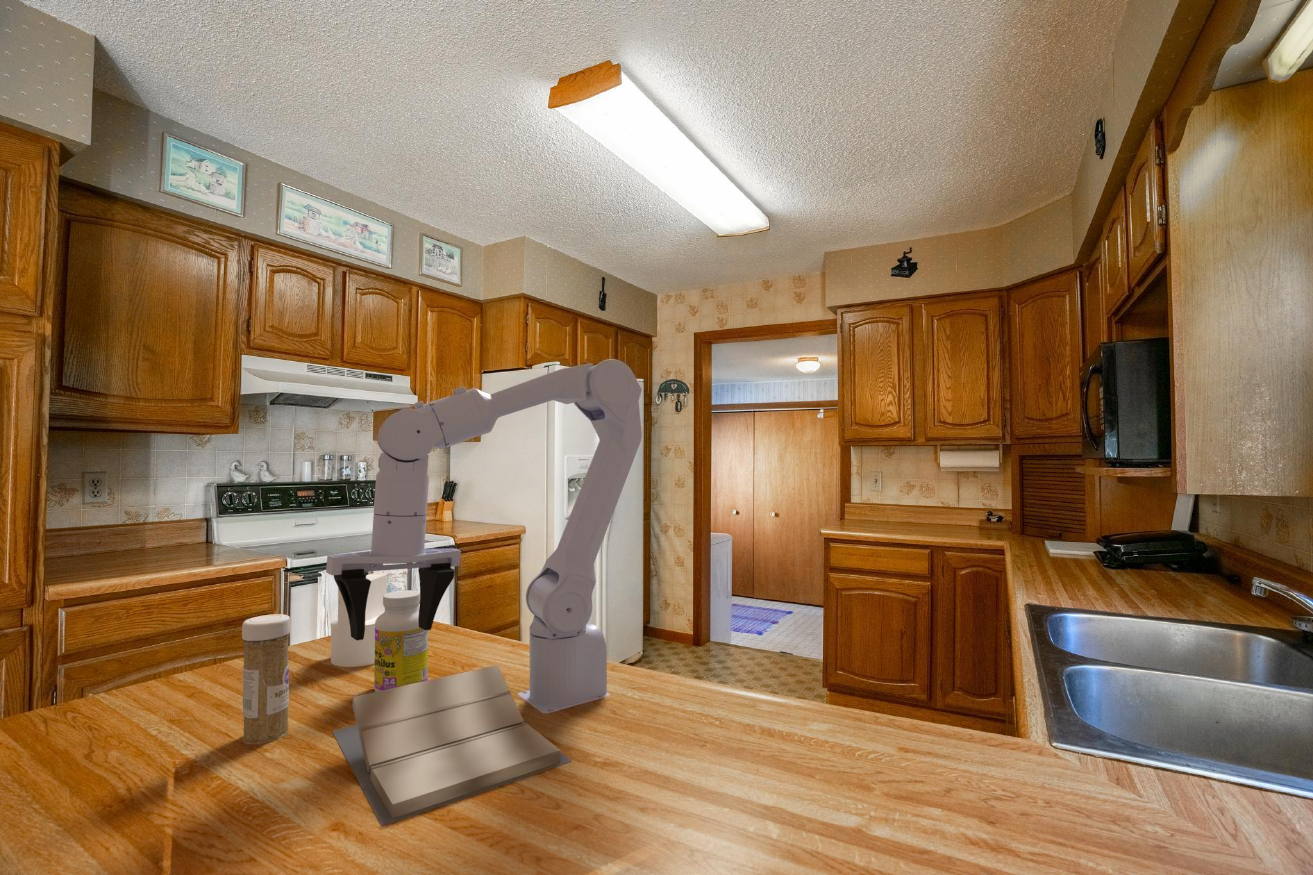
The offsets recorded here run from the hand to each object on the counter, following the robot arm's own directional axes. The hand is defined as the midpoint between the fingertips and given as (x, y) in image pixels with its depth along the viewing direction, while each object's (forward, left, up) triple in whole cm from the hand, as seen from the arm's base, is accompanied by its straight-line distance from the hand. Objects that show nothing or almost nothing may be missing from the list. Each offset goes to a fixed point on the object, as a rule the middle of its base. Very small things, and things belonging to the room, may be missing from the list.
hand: (392, 633), depth 72 cm
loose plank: (-3, +7, -8) cm, 11 cm away
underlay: (-3, +9, -11) cm, 14 cm away
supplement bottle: (-4, -12, -11) cm, 17 cm away
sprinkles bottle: (+12, -6, -11) cm, 17 cm away
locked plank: (-3, +15, -11) cm, 19 cm away
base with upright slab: (-3, -30, -11) cm, 32 cm away
